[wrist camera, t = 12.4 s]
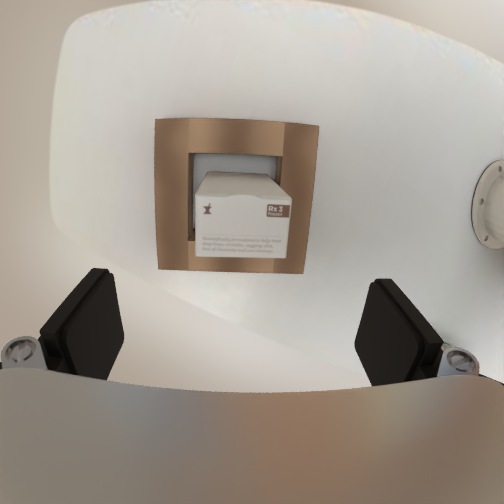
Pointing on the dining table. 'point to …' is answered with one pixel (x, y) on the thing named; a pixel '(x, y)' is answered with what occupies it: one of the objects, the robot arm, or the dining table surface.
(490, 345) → the dining table surface
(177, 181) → the wooden square frame
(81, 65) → the dining table surface
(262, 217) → the skincare box
